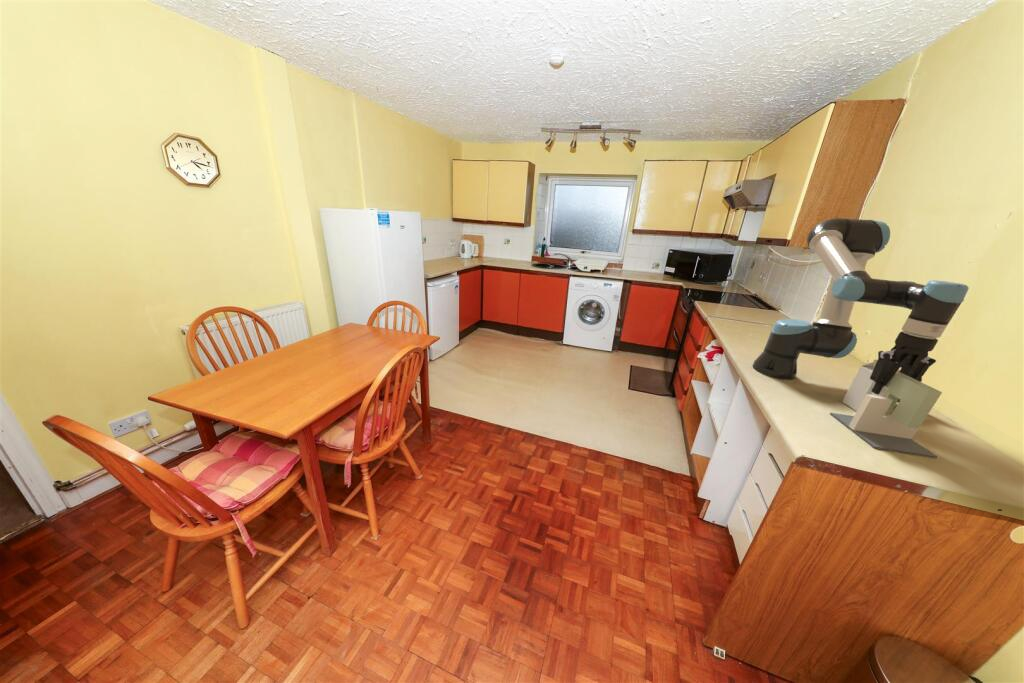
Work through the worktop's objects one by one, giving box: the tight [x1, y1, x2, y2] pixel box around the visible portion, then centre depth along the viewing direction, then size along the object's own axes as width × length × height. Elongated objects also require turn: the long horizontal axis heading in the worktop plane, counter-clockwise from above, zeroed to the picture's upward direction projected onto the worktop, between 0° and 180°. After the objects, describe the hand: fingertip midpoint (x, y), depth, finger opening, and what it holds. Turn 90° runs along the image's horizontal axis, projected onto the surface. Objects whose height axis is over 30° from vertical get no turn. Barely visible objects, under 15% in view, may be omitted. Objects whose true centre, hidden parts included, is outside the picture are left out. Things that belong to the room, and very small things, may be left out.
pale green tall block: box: [870, 371, 943, 430], centre depth 98 cm, size 14×3×12 cm, turn 170°
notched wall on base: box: [829, 394, 939, 459], centre depth 100 cm, size 16×18×13 cm
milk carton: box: [842, 359, 900, 413], centre depth 114 cm, size 7×7×19 cm
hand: (879, 403), depth 104 cm, fingers closed on pale green tall block, 3 cm apart
